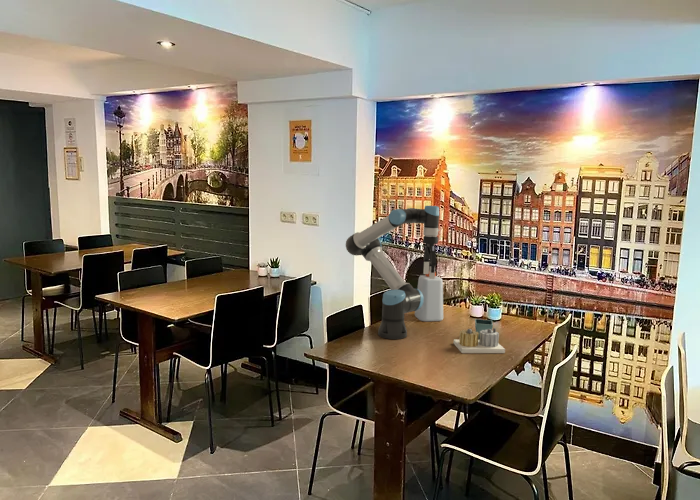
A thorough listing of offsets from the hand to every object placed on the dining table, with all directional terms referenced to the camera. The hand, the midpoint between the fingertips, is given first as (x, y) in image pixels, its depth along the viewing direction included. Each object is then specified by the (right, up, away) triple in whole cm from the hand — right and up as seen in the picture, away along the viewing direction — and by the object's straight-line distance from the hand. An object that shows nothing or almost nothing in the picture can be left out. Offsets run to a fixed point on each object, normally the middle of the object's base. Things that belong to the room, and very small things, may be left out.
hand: (428, 276), depth 272 cm
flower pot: (+28, -33, +2) cm, 43 cm away
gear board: (+22, -35, -15) cm, 44 cm away
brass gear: (+17, -33, -15) cm, 40 cm away
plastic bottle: (+6, -27, +39) cm, 47 cm away
